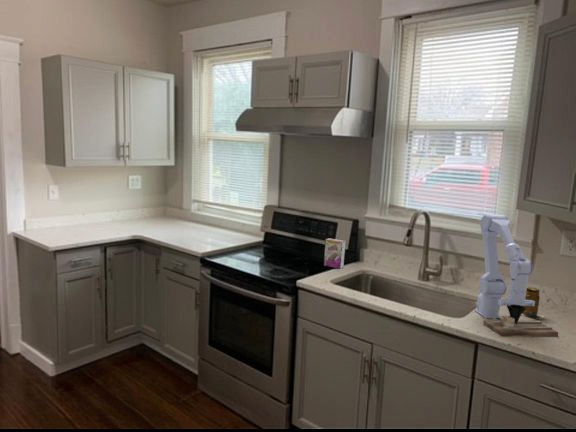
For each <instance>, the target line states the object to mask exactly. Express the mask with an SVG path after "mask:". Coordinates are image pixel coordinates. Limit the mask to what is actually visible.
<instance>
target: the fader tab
mask: <svg viewBox="0 0 576 432" xmlns="http://www.w3.org/2000/svg"><path fill="white" fill-rule="evenodd" d="M500 315H501V318H500V320H499V321H500V324H501V325H503V326H504V327H514V323H515V319H514V318H512V317H511V316H510V314H500Z"/></svg>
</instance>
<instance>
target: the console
mask: <svg viewBox="0 0 576 432" xmlns="http://www.w3.org/2000/svg"><path fill="white" fill-rule="evenodd" d="M483 325H484V326H486V327H487V328H489V329H490V330H491V331H493V332H494V333H496V334H497V335H498V336H501V337H546V336H547V337H553V336H554V337H558V335H559V332H558V331H556V330H555V329H553V327H552V326H547V325H546V324H544V323H543V322H542V321H540V320H518V322H517V324H514V327H504V326H503V325H501V324H500V320H483Z"/></svg>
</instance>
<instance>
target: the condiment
mask: <svg viewBox="0 0 576 432" xmlns="http://www.w3.org/2000/svg"><path fill="white" fill-rule="evenodd" d="M525 300H533V301H535V305H534V306H523V307H525V308H526V309H525V311H524V312H523V313H522V314H521V316H523V317H527V318H532V319H535V320H542V319H543V318H544V317H545V315H542V314H538V312H539V305H540V304H539V303H540V289H538V288H536V287H530V286H529V287H528V286H527V290H526V297H525Z"/></svg>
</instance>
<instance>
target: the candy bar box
mask: <svg viewBox="0 0 576 432" xmlns="http://www.w3.org/2000/svg"><path fill="white" fill-rule="evenodd" d="M345 253H346V240H342V239H341V240H340V239H336V238H335V239H334V238H325V243H324V253H323V254H324V255H323V266H324V267H328V268H333V269H337V268H339V269H338V270H341V269H343V268H344V267H345V266H344V265H345V264H344V263H345ZM342 267H343V268H342Z"/></svg>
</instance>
